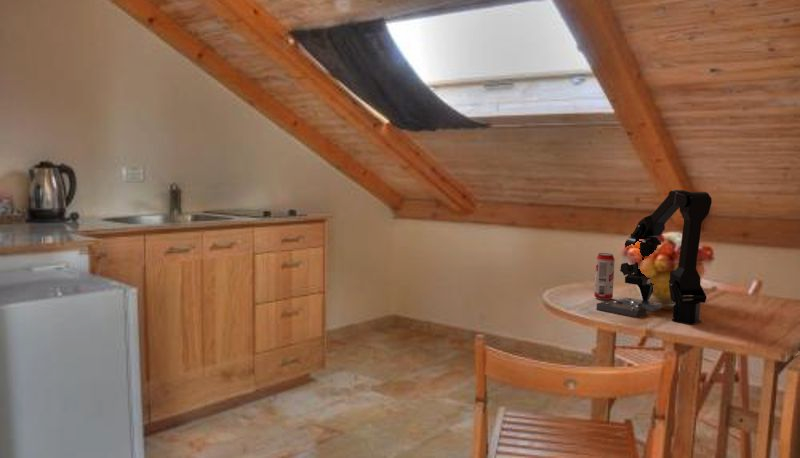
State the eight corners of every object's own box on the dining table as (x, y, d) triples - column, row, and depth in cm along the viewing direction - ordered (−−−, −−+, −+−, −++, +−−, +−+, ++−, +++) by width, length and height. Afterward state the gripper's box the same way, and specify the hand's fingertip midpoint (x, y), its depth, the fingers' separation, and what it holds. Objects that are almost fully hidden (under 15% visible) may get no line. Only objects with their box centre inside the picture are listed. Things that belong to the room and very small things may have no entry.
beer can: (592, 299, 225) (594, 254, 223) (596, 296, 230) (598, 252, 229) (610, 301, 222) (613, 255, 220) (614, 298, 227) (616, 253, 226)
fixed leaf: (649, 313, 203) (650, 306, 203) (636, 317, 198) (637, 310, 198) (609, 306, 214) (610, 299, 214) (596, 309, 208) (596, 302, 208)
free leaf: (661, 309, 212) (661, 302, 211) (650, 312, 206) (650, 305, 206) (626, 303, 220) (627, 296, 220) (615, 305, 214) (615, 298, 214)
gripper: (639, 251, 227) (636, 294, 228) (611, 256, 214) (609, 301, 216) (669, 255, 218) (667, 300, 220) (642, 260, 206) (640, 307, 208)
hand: (645, 302), depth 216 cm, fingers closed
